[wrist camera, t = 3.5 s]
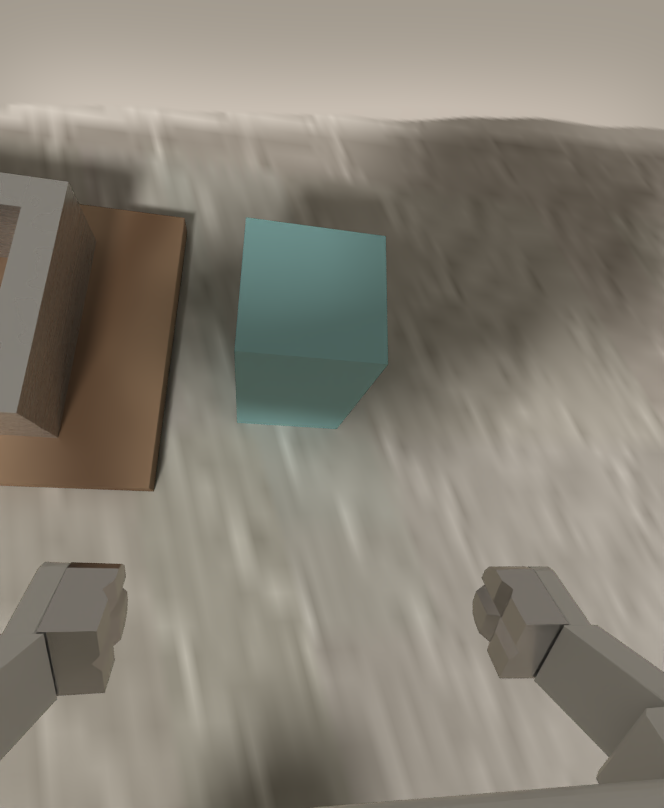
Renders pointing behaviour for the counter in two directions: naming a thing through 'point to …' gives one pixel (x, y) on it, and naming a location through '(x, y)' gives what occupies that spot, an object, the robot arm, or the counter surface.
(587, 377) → the counter surface
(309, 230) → the teal peg
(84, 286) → the socket
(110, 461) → the walnut board
